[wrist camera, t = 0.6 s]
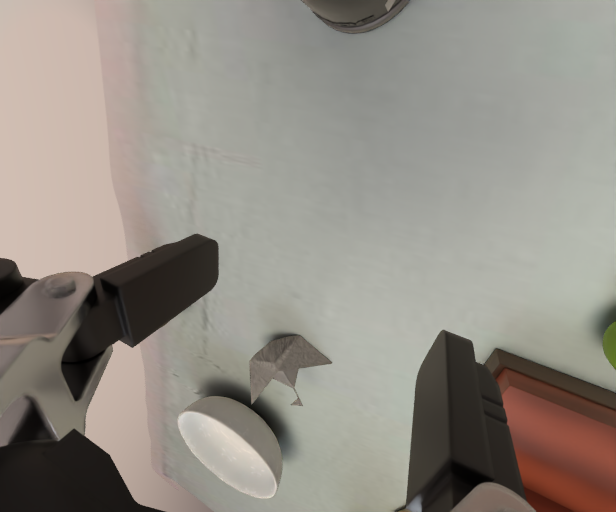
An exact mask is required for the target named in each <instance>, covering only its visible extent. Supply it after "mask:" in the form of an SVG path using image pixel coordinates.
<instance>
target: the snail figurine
mask: <svg viewBox="0 0 616 512" xmlns="http://www.w3.org/2000/svg"><path fill="white" fill-rule="evenodd" d="M603 350H604V353H605V355H606V358H607V359H608V361H609V362H610V364H611V365H612V366H613V367H614V368H615V370H616V321H615V322H613V323H612V324H611V325H610V326H609V327H608V328H607V330H606V331H605V333H604V336H603Z"/></svg>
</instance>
